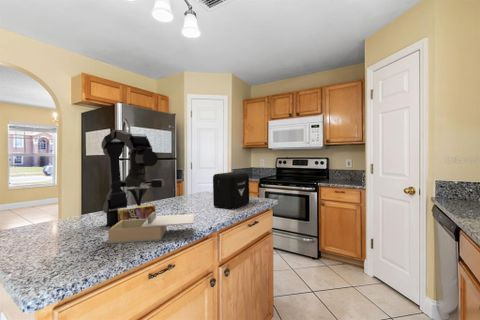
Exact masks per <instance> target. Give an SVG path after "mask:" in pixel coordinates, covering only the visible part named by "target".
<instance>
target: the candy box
mask: <svg viewBox="0 0 480 320" xmlns="http://www.w3.org/2000/svg"><path fill="white" fill-rule="evenodd" d="M152 212H156V204H152V203H151V204H146V205H145V204H144V205H140V206H137V205H136V206H130V207H129V206H127V208H119V209H118V222H120V221H121V220H132V219H148V218H147V217H148V216H149V215H150V214H151V213H152Z"/></svg>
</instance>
